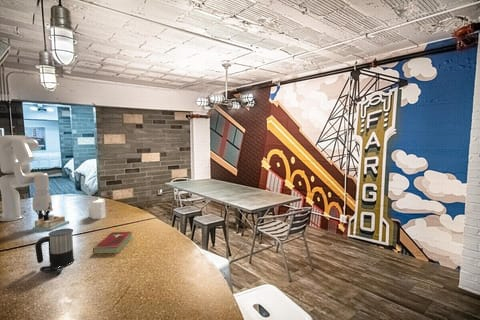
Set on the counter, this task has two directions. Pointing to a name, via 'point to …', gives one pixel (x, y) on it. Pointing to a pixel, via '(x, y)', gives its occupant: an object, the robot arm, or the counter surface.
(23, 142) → the robot arm
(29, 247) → the counter surface
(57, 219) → the ring
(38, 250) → the milk frother
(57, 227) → the lid with knob
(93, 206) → the corner bracket
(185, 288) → the counter surface
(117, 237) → the hardcover book
